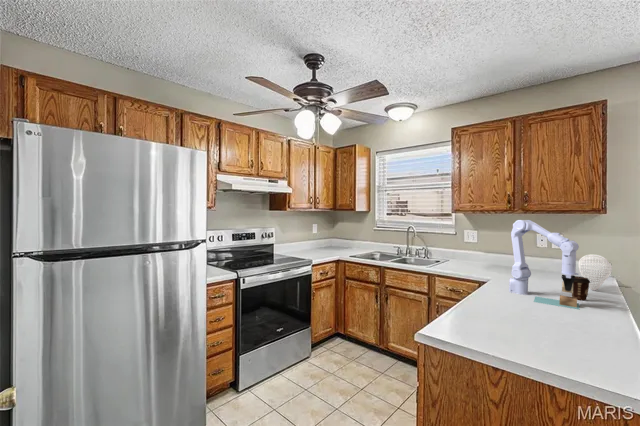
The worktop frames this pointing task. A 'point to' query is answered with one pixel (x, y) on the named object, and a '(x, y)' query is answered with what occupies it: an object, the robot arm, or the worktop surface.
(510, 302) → the worktop surface
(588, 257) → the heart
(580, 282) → the coffee cup
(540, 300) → the build board
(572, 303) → the walnut block
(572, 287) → the maple block
